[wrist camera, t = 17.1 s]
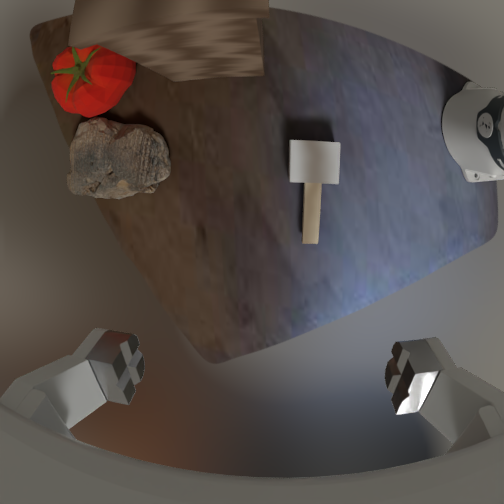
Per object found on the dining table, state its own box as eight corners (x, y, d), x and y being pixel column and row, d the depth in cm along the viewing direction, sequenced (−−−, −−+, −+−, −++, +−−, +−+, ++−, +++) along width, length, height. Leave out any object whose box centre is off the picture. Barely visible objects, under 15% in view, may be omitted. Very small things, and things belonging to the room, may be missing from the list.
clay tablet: (184, 125, 43) (82, 115, 42) (175, 125, 38) (66, 116, 37) (170, 209, 48) (74, 190, 47) (160, 217, 44) (59, 196, 43)
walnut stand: (270, 38, 36) (266, -58, 12) (271, 78, 39) (268, 7, 15) (169, 46, 37) (79, -18, 13) (168, 85, 40) (68, 45, 16)
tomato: (161, 65, 39) (129, 47, 28) (110, 133, 43) (69, 135, 32) (112, 32, 36) (75, 13, 25) (67, 96, 40) (25, 92, 30)
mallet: (334, 142, 42) (340, 142, 38) (329, 238, 48) (333, 246, 44) (289, 140, 42) (290, 139, 39) (286, 237, 48) (287, 245, 44)
